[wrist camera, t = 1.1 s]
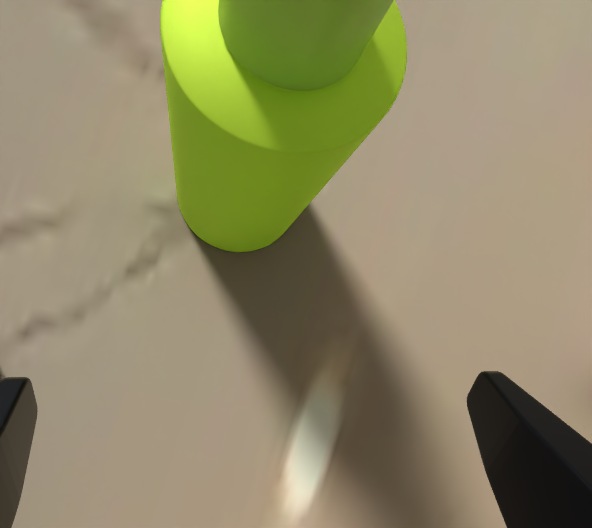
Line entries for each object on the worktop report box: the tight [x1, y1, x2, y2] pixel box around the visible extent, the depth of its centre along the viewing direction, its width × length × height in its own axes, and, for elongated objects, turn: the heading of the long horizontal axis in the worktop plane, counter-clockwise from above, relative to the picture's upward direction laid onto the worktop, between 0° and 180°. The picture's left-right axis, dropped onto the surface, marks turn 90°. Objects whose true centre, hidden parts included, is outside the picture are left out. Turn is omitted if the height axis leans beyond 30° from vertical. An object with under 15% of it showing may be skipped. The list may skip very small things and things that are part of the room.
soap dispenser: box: [160, 0, 407, 252], centre depth 14 cm, size 6×7×20 cm
